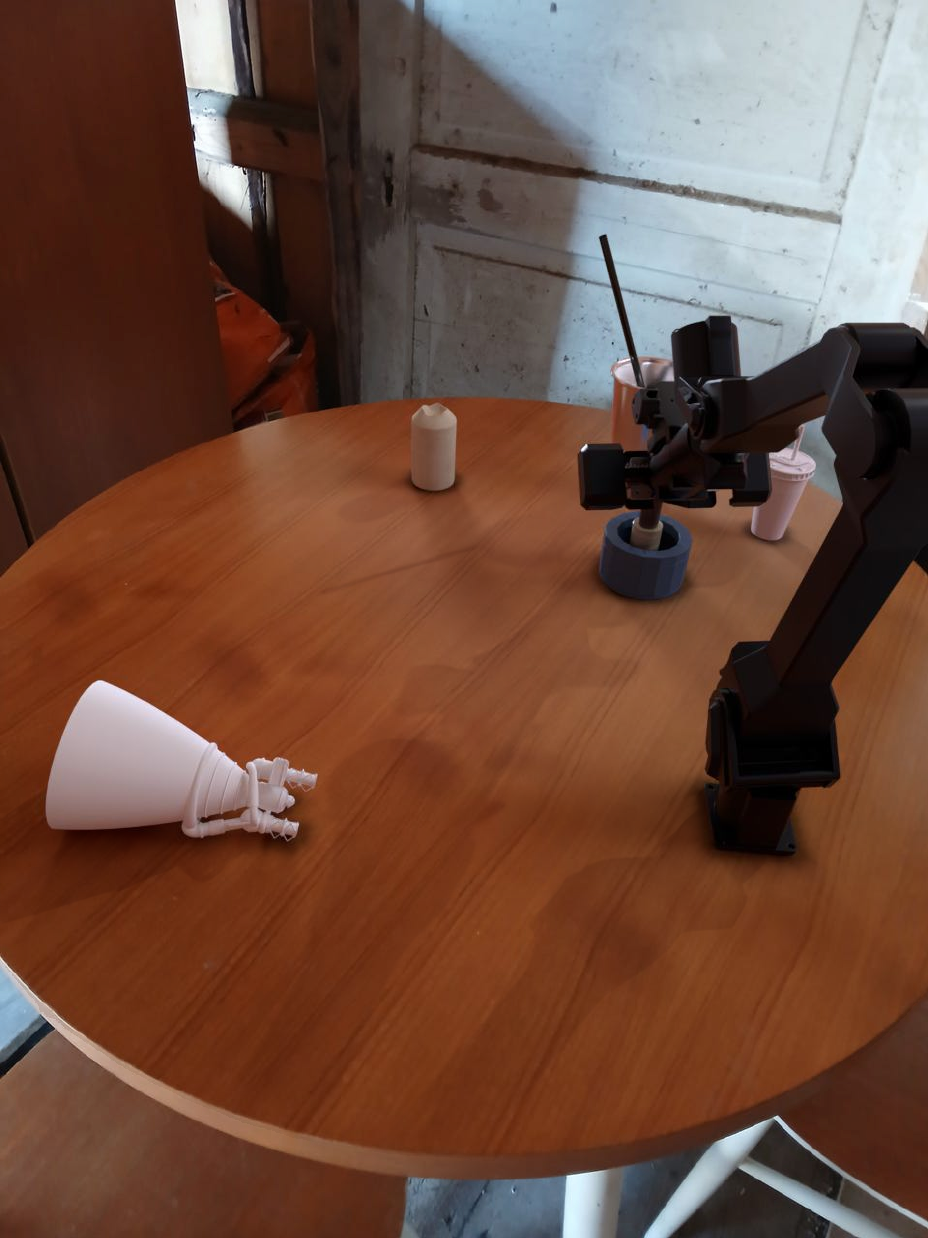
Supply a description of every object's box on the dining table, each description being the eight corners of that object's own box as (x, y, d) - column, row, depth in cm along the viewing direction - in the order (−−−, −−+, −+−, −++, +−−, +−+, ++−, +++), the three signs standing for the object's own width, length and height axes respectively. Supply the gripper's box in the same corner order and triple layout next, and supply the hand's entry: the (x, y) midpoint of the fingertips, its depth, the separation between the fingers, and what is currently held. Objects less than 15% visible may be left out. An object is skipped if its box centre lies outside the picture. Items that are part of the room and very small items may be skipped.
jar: (687, 603, 97) (697, 560, 93) (601, 596, 97) (607, 554, 94) (677, 555, 104) (686, 514, 101) (597, 549, 104) (603, 508, 101)
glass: (569, 474, 118) (597, 233, 100) (641, 459, 122) (681, 224, 103) (613, 514, 110) (653, 262, 92) (689, 497, 114) (741, 251, 96)
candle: (405, 486, 114) (405, 413, 108) (419, 466, 118) (420, 395, 112) (447, 494, 113) (449, 420, 107) (460, 474, 117) (462, 402, 111)
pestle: (636, 564, 98) (655, 462, 91) (622, 548, 101) (640, 447, 93) (662, 559, 99) (683, 458, 92) (648, 544, 102) (667, 443, 94)
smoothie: (796, 550, 106) (830, 441, 97) (740, 542, 106) (769, 434, 98) (792, 521, 111) (824, 416, 102) (738, 514, 111) (766, 409, 103)
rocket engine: (327, 731, 66) (81, 672, 65) (285, 890, 64) (29, 833, 62) (328, 737, 78) (119, 687, 76) (293, 873, 75) (76, 824, 74)
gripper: (791, 366, 83) (726, 422, 99) (593, 368, 82) (559, 425, 97) (802, 484, 82) (735, 522, 98) (601, 488, 80) (565, 527, 96)
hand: (648, 496), depth 97 cm, fingers closed on pestle, 2 cm apart
